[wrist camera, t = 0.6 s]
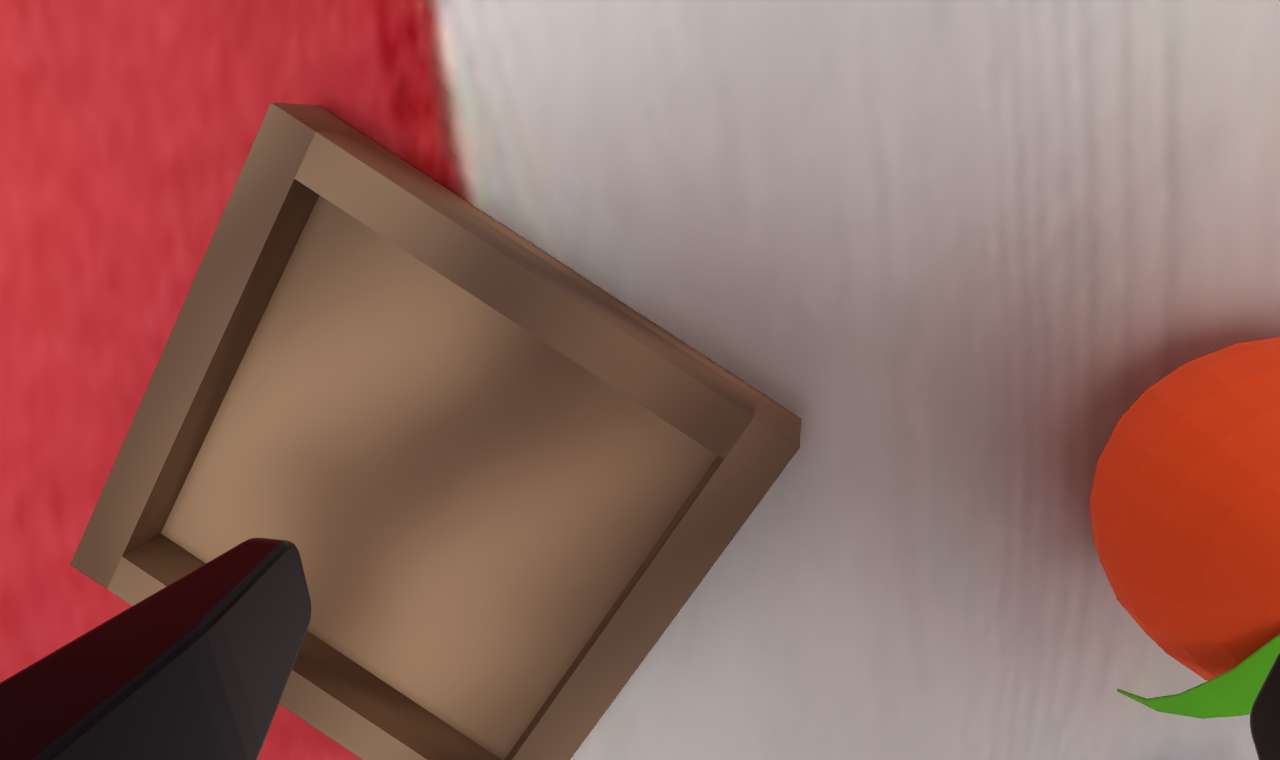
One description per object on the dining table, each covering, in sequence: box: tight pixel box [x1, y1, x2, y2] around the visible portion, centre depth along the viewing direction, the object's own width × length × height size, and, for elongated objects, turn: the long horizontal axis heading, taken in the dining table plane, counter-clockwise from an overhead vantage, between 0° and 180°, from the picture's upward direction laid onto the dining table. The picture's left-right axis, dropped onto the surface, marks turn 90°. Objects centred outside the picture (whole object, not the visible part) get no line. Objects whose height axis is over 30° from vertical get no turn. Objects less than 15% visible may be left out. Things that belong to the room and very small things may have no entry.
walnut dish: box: [70, 103, 801, 760], centre depth 23 cm, size 14×14×2 cm
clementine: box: [1090, 337, 1280, 718], centre depth 17 cm, size 8×7×7 cm
